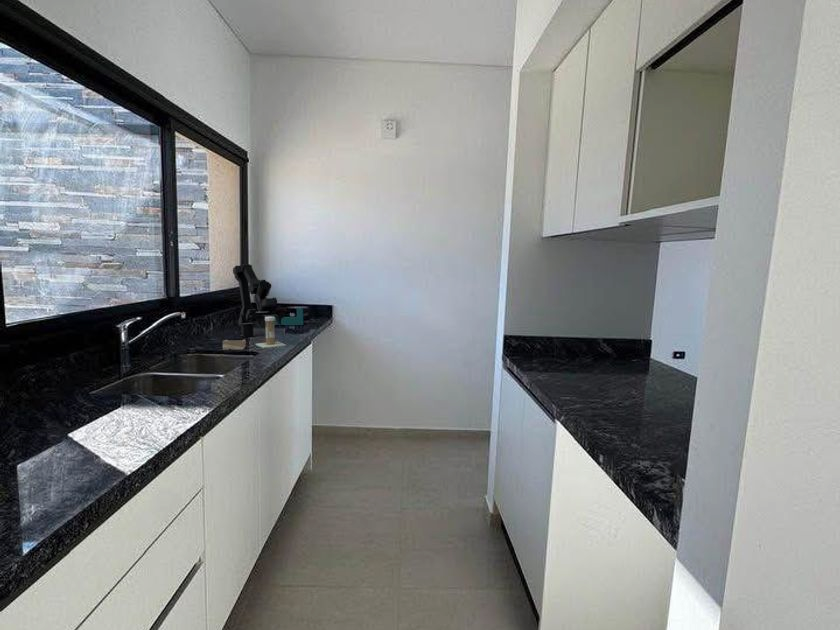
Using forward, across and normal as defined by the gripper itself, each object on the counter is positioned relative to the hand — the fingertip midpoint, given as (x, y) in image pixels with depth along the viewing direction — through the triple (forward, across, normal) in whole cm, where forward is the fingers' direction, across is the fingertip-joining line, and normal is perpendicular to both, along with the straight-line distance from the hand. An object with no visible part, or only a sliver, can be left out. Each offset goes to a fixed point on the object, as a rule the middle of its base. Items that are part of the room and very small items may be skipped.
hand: (271, 327), depth 222 cm
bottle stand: (+4, -16, +9) cm, 19 cm away
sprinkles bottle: (+5, 0, +7) cm, 9 cm away
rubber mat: (+6, 0, +7) cm, 9 cm away
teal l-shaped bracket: (-39, +36, +53) cm, 75 cm away
